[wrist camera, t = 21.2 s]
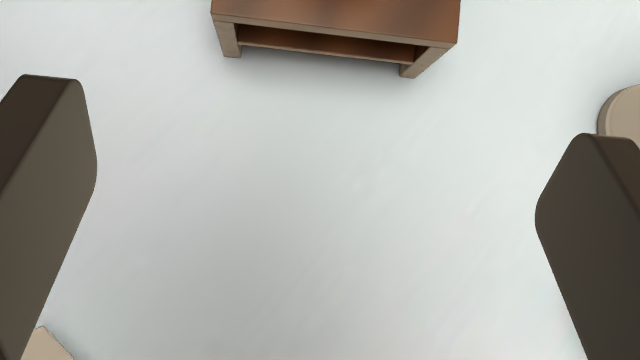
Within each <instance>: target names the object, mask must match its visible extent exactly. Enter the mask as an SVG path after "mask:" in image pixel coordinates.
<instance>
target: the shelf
mask: <svg viewBox="0 0 640 360" xmlns="http://www.w3.org/2000/svg"><path fill="white" fill-rule="evenodd" d="M460 2H461V0H212V2H211V12H210V13H211V16H212V19H213V23H214V26H215V29H216V32H217V36H218V39H219V42H220V45H221V49H222V52H223V55H224V56H225V57H234V58H240V56H241V46H242V45H248V46H256V47H265V48H273V49H282V50H291V51H299V52H308V53H316V54H325V55H333V56H342V57H350V58H359V59H367V60H376V61H384V62H393V63H400V74H399V76H400V77H408V78H416V77H417V76H418V75H419V74H420V73H422V72H423V71H424V70H425V69H426V68H428V67H429V66H430V65H431V64H432V63H434V62H435V61H436V60H437V59H439V58H440V57H441V56H442V55H443V54H445V53H446V52H447V51H448V50H449V49H451V48H452V47H453V46H454V45H455V44H457V39H458V26H459V14H460Z"/></svg>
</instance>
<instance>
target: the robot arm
mask: <svg viewBox="0 0 640 360" xmlns="http://www.w3.org/2000/svg"><path fill="white" fill-rule="evenodd" d="M96 176H97V157H96V151H95V146H94V141H93V136H92V131H91V125H90V120H89V115H88V110H87V105H86V100H85V95H84V91H83V88H82V85H81V83H80V82H79V81H78V80H76V79H68V78H58V77H48V76H39V75H29V74H24V75H22V76H20V77H19V78H18V79H17V81H16V82H15V83H14V85H13V86H12V87H11V89H10V90H9V91H8V93H7V94H6V95H5V97H4V98H3V99H2V101H1V102H0V360H21V357H22V355H23V353H24V350H25V348H26V346H27V343H28V341H29V339H30V337H31V334H32V332H33V330H34V327H35V325H36V323H37V320H38V318H39V316H40V313H41V311H42V309H43V307H44V304H45V302H46V300H47V297H48V295H49V293H50V290H51V288H52V286H53V284H54V281H55V279H56V277H57V274H58V272H59V270H60V267H61V265H62V263H63V261H64V258H65V256H66V254H67V251H68V249H69V247H70V244H71V242H72V240H73V237H74V235H75V233H76V231H77V228H78V226H79V224H80V221H81V219H82V217H83V214H84V212H85V210H86V208H87V205H88V203H89V201H90V198H91V196H92V193H93V191H94V187H95V183H96ZM535 227H536V231H537V234H538V237H539V239H540V242H541V244H542V247H543V249H544V252H545V254H546V257H547V259H548V262H549V264H550V267H551V269H552V271H553V274H554V276H555V279H556V281H557V284H558V286H559V289H560V291H561V294H562V296H563V299H564V301H565V304H566V306H567V309H568V311H569V314H570V316H571V319H572V321H573V324H574V326H575V329H576V331H577V334H578V336H579V339H580V341H581V343H582V346H583V348H584V351H585V353H586V356H587V358H588V360H640V149H639V148H638V146H637V145H636V144H635V142H634V141H633V140H631V139H630V138H627V137H618V136H608V135H598V134H589V133H581V134H579V135H577V136H576V137H574V138H573V140H572V141H571V142H570V144H569V146H568V147H567V149H566V151H565V153H564V154H563V156H562V158H561V160H560V162H559V163H558V165H557V167H556V169H555V170H554V172H553V174H552V176H551V177H550V179H549V181H548V183H547V185H546V186H545V188H544V190H543V192H542V193H541V195H540V197H539V199H538V202H537V205H536V211H535Z"/></svg>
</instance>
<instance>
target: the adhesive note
mask: <svg viewBox="0 0 640 360" xmlns="http://www.w3.org/2000/svg"><path fill="white" fill-rule="evenodd" d="M21 360H75V359H74V358H73V357H72V356H71V355H70V354H69V353H68V352H67V351H66V350H65V349H64V348H63V347H62V346H61V345H60V344H59V343H58V342H57V340H56V339H55V338H54V337H53V336H52V335H51V334H50V333H49V332H48V331H47V330H46V329H45V328H44V327H43V326H42V327H40V328H38V329H36V330H35V331H33V332H32V334H31V337H30V339H29V341H28V343H27V346H26V348H25V350H24V353H23V355H22V357H21Z"/></svg>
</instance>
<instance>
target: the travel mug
mask: <svg viewBox="0 0 640 360" xmlns="http://www.w3.org/2000/svg"><path fill="white" fill-rule="evenodd" d="M598 134H599V135H608V136H618V137H627V138H630V139H631V140H633V141H634V142H635V144H636V145H637V146H638V148H639V149H640V84H639V85H635V86H632V87H629V88H626V89H623V90H620V91H618V92H616V93H615V94H613V95H612V96H611V97H610V98H609V99H608V100H607V101H606V103H605V104H604V105H603V108H602V110H601V112H600V115H599V119H598Z"/></svg>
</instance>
